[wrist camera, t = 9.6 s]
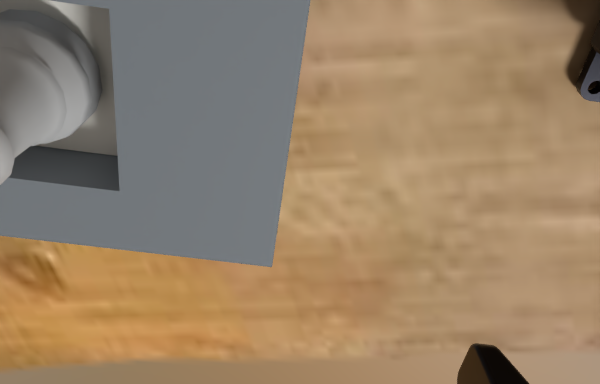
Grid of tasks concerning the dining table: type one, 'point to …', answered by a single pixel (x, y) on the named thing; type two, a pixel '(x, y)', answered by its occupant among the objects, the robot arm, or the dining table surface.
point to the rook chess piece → (42, 83)
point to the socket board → (169, 130)
